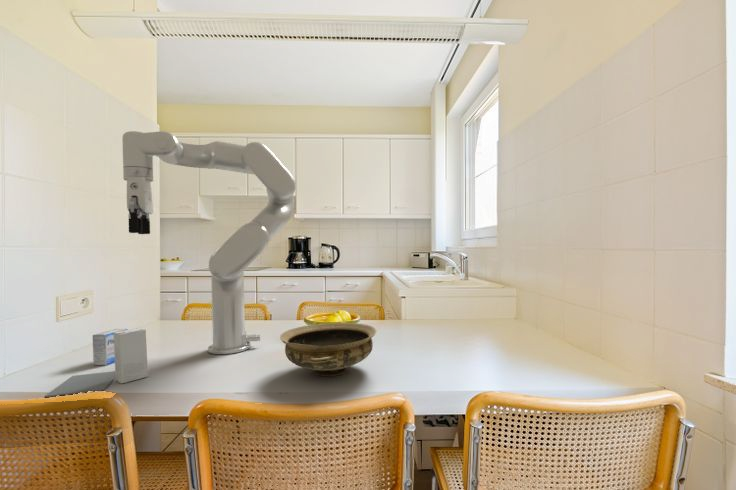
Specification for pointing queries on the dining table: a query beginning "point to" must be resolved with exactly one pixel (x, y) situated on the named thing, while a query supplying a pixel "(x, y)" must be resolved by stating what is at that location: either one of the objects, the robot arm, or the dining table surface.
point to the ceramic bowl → (328, 346)
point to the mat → (84, 383)
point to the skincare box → (130, 355)
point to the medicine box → (104, 347)
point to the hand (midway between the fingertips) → (140, 233)
